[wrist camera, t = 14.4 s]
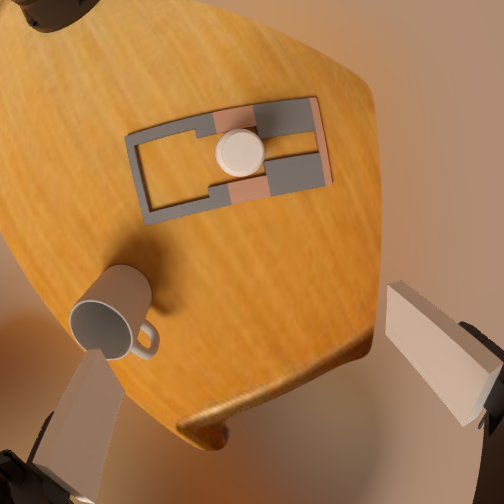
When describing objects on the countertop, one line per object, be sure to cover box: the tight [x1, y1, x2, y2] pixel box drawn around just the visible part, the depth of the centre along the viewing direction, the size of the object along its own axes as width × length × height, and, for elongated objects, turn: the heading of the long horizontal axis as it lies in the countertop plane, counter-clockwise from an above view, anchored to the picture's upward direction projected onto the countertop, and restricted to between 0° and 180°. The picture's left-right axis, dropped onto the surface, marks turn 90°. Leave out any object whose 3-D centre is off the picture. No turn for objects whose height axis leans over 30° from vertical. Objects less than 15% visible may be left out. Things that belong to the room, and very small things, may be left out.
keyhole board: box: [125, 98, 332, 226], centre depth 34 cm, size 12×25×1 cm, turn 101°
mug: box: [69, 265, 160, 360], centre depth 33 cm, size 12×8×11 cm
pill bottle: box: [215, 129, 265, 177], centre depth 30 cm, size 5×5×9 cm
